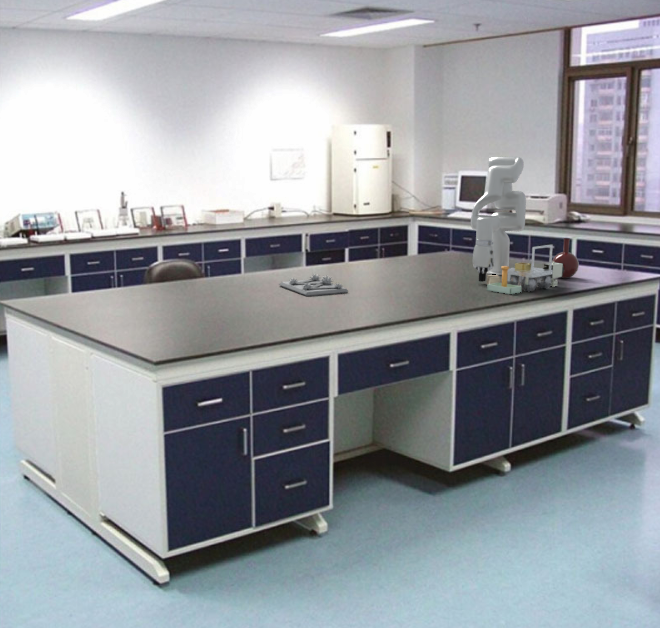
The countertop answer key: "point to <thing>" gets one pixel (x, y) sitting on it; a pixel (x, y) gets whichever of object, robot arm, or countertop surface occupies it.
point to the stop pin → (504, 275)
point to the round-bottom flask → (567, 260)
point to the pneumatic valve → (555, 272)
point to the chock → (493, 279)
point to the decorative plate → (314, 286)
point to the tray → (504, 288)
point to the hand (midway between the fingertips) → (482, 281)
